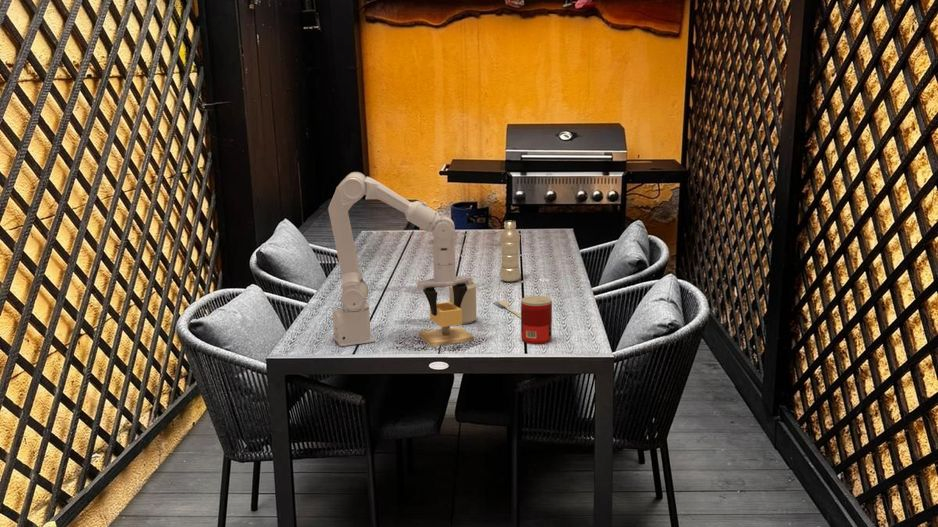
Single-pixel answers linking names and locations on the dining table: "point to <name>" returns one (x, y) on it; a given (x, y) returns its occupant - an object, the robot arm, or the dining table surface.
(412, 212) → the robot arm
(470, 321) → the can
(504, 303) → the fork
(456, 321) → the link
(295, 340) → the dining table surface
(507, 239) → the plastic bottle
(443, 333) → the wooden block with peg
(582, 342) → the dining table surface
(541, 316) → the canned food
